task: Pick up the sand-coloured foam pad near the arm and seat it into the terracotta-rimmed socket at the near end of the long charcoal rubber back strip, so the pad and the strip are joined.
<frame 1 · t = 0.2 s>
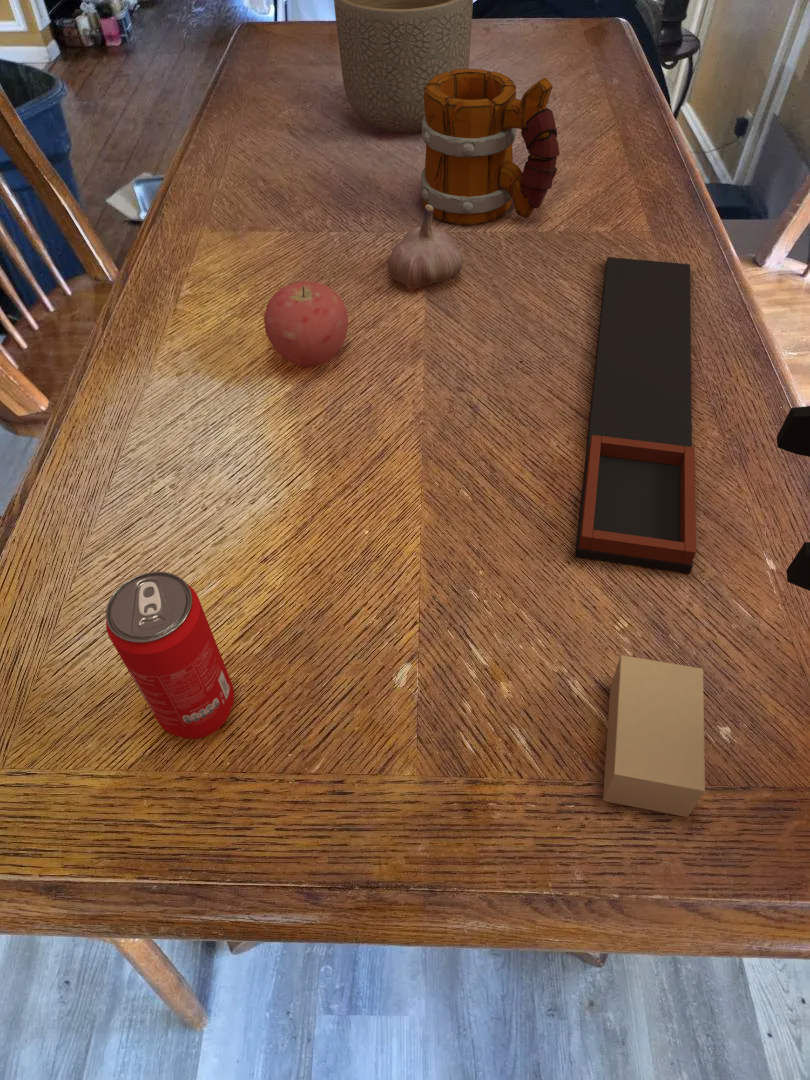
hand: (789, 490, 35), 22 cm above the table, tool horizontal, fingers open, 7 cm apart
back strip: (640, 392, 73), on the table
beverage can: (199, 710, 54), on the table
foam pad: (647, 748, 51), on the table
planter: (406, 118, 110), on the table
apple: (312, 359, 77), on the table
garlic bulb: (425, 279, 85), on the table
mug: (484, 210, 94), on the table
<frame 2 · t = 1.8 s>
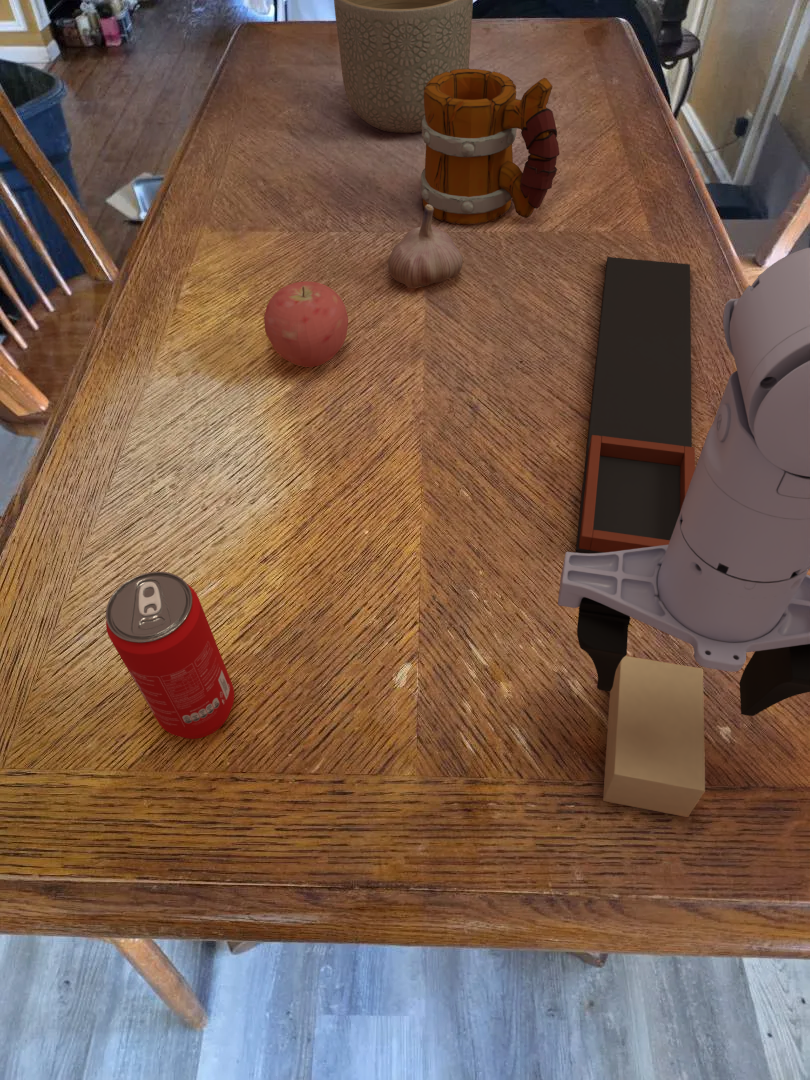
hand: (674, 687, 45), 8 cm above the table, tool pointing down, fingers open, 7 cm apart
nothing on the table moved.
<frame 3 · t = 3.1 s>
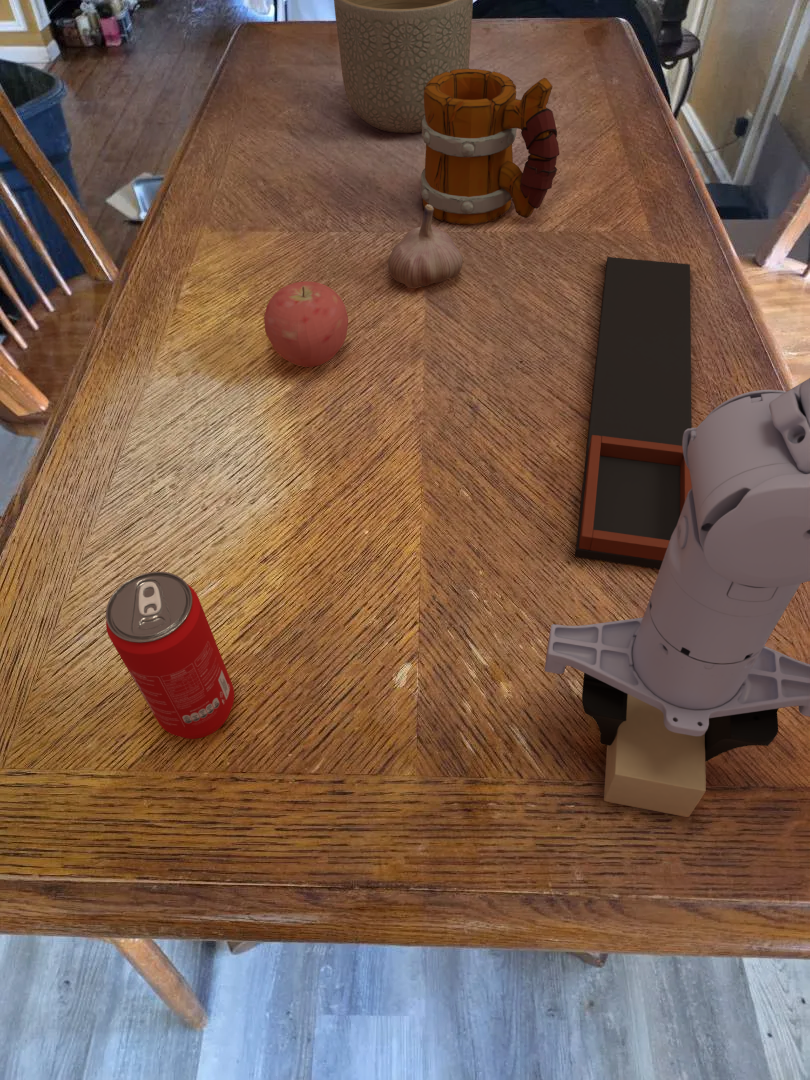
hand: (651, 738, 50), 1 cm above the table, tool pointing down, fingers closed on foam pad, 5 cm apart
foam pad: (647, 748, 51), on the table, touching gripper
everything else where it was.
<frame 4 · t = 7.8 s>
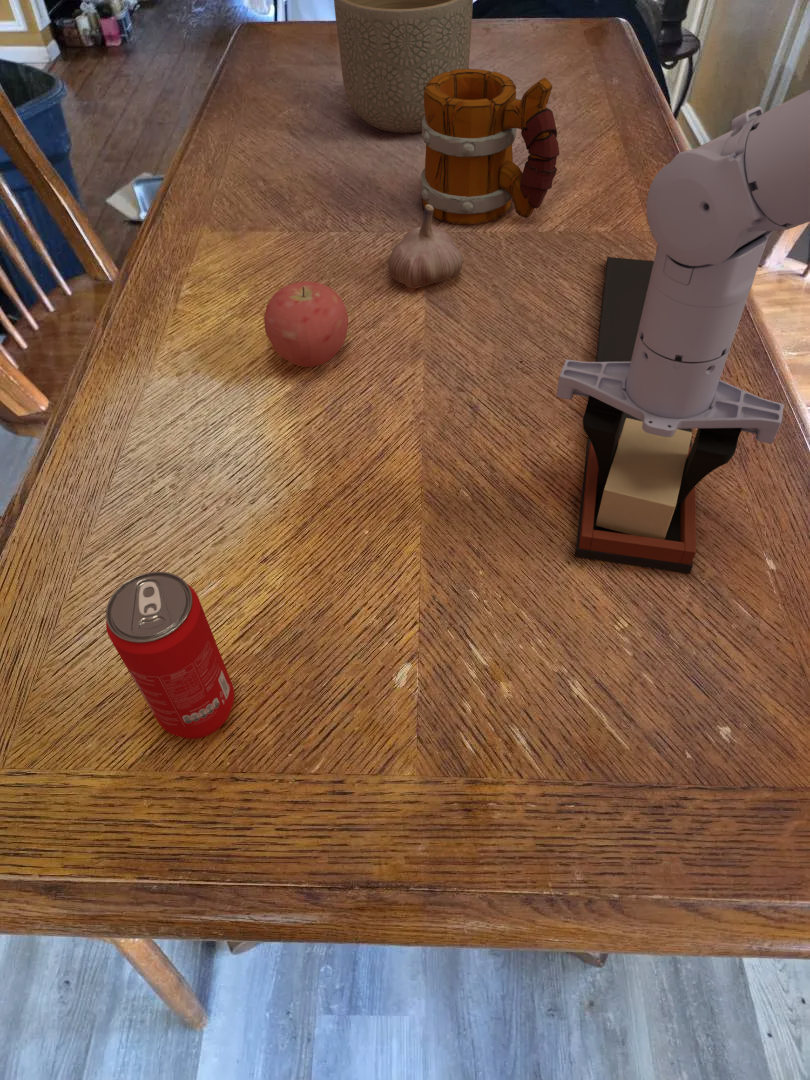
hand: (642, 484, 61), 3 cm above the table, tool pointing down, fingers closed on foam pad, 5 cm apart
foam pad: (638, 496, 62), point 2 cm above the table, touching gripper
everything else where it was.
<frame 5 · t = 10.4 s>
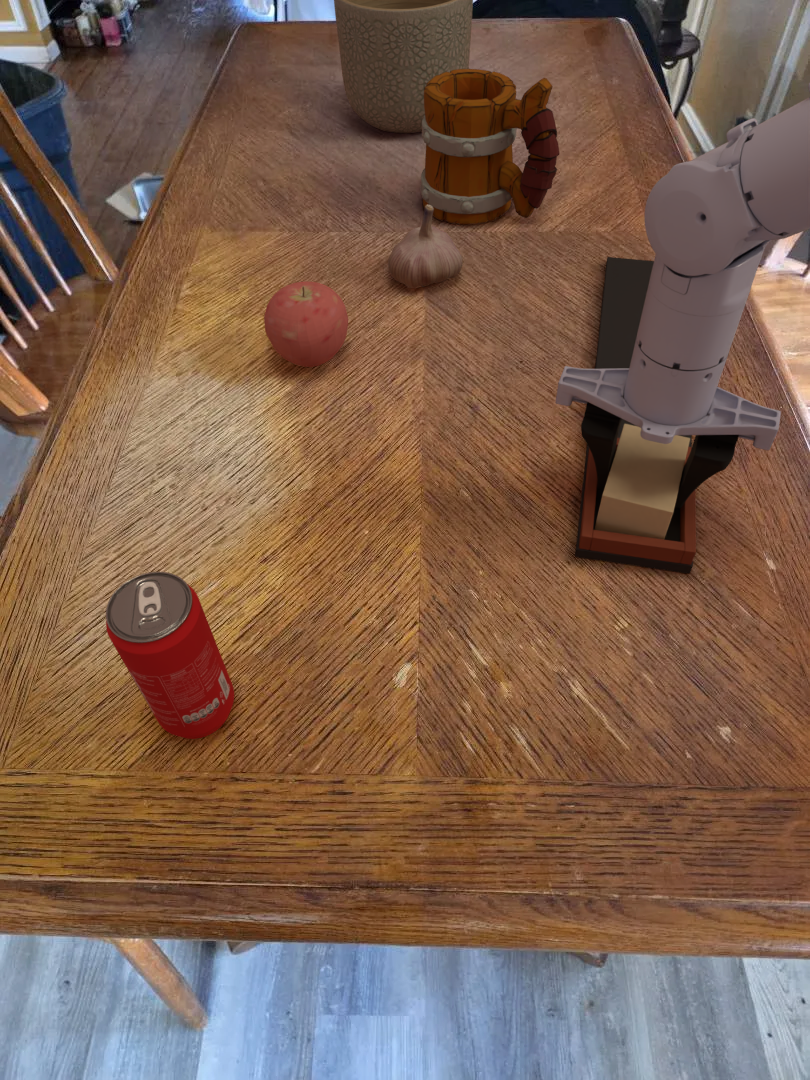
hand: (640, 489, 62), 2 cm above the table, tool pointing down, fingers closed on foam pad, 5 cm apart
foam pad: (637, 502, 63), point 1 cm above the table, touching gripper
everything else where it was.
when the fingers open (3 cm above the table, at t = 12.5 s): foam pad stays where it is, resting on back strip.
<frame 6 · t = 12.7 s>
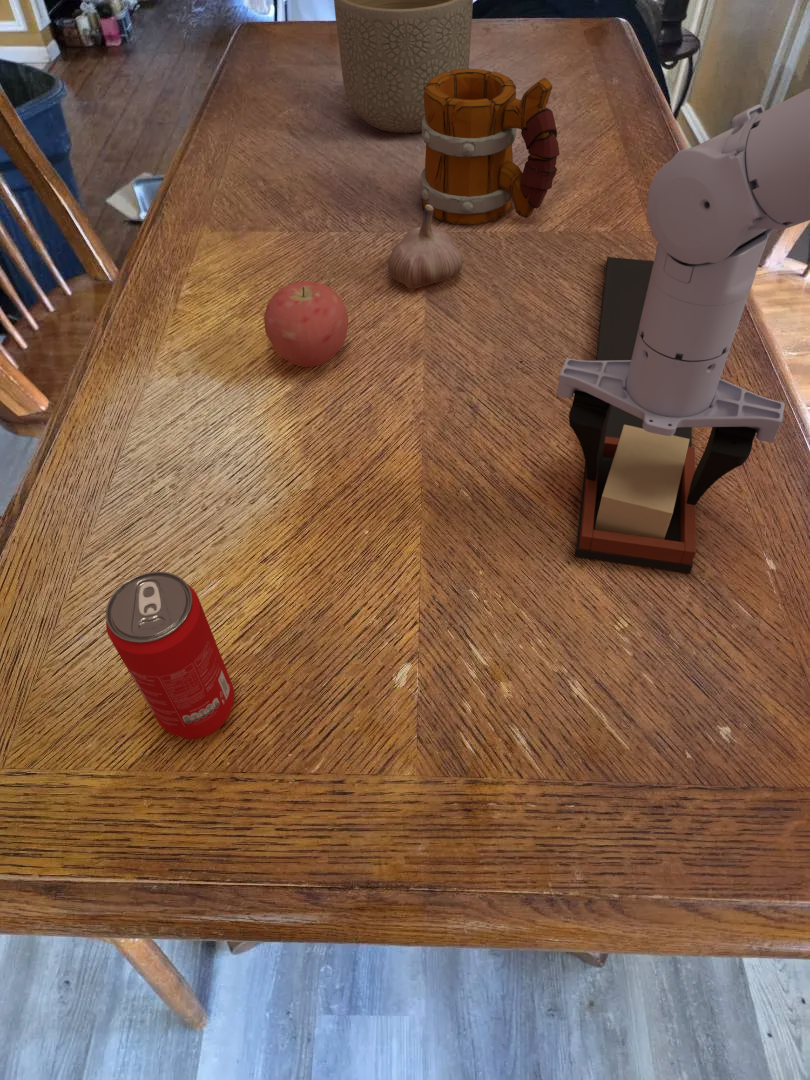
hand: (642, 483, 61), 3 cm above the table, tool pointing down, fingers open, 7 cm apart
foam pad: (636, 502, 63), point 1 cm above the table, touching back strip
everything else where it was.
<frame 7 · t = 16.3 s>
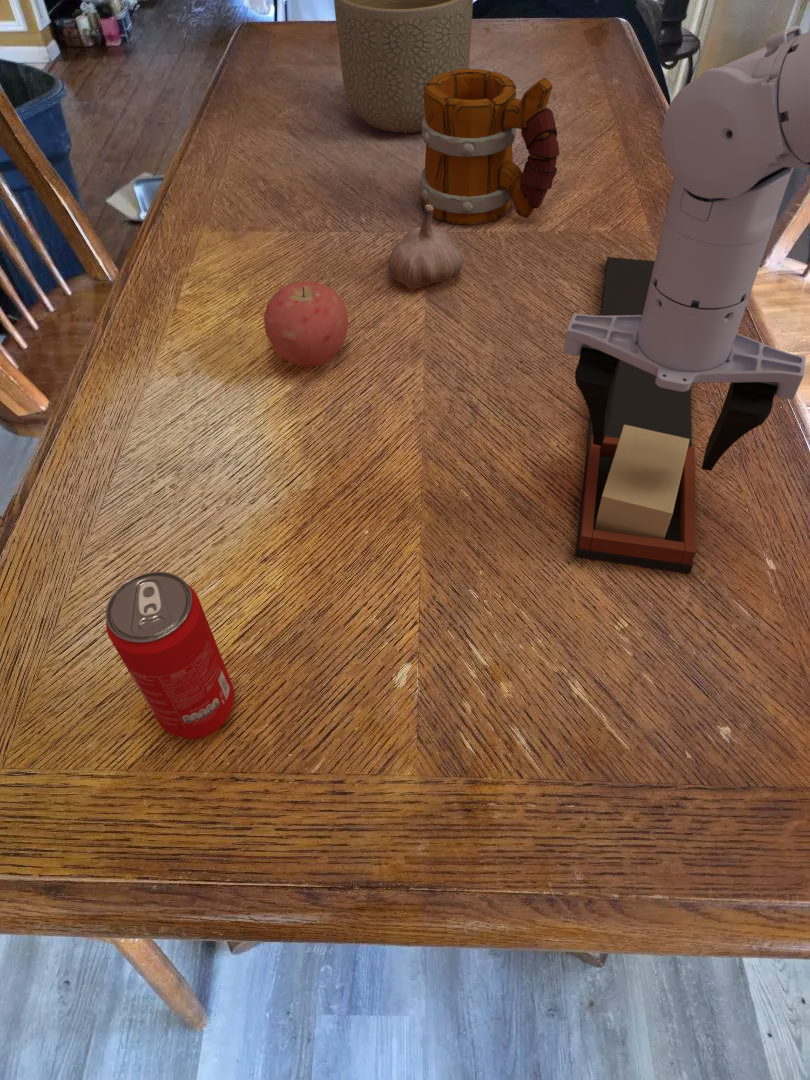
hand: (653, 448, 58), 7 cm above the table, tool pointing down, fingers open, 7 cm apart
nothing on the table moved.
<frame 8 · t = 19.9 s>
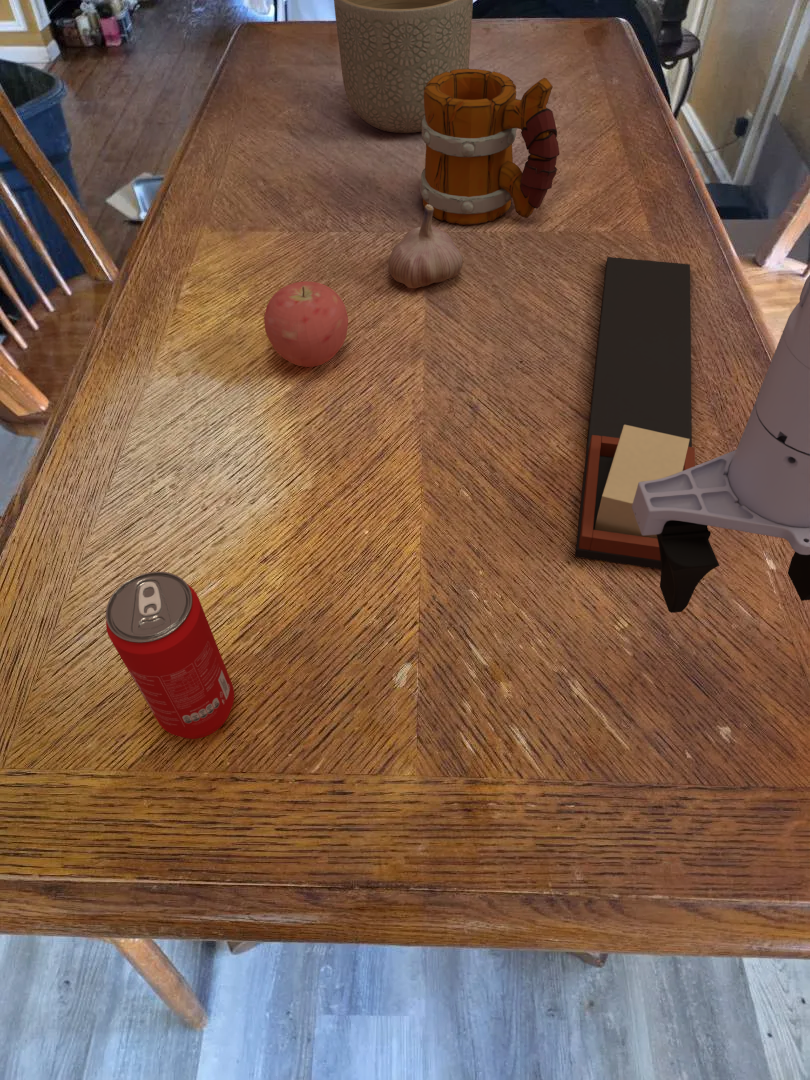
hand: (735, 592, 47), 9 cm above the table, tool pointing down, fingers open, 7 cm apart
nothing on the table moved.
at the end: foam pad 0.0 cm from the target spot on the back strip, point 1.0 cm above the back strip's base; foam pad tilted 0°; the gripper is holding nothing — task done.
